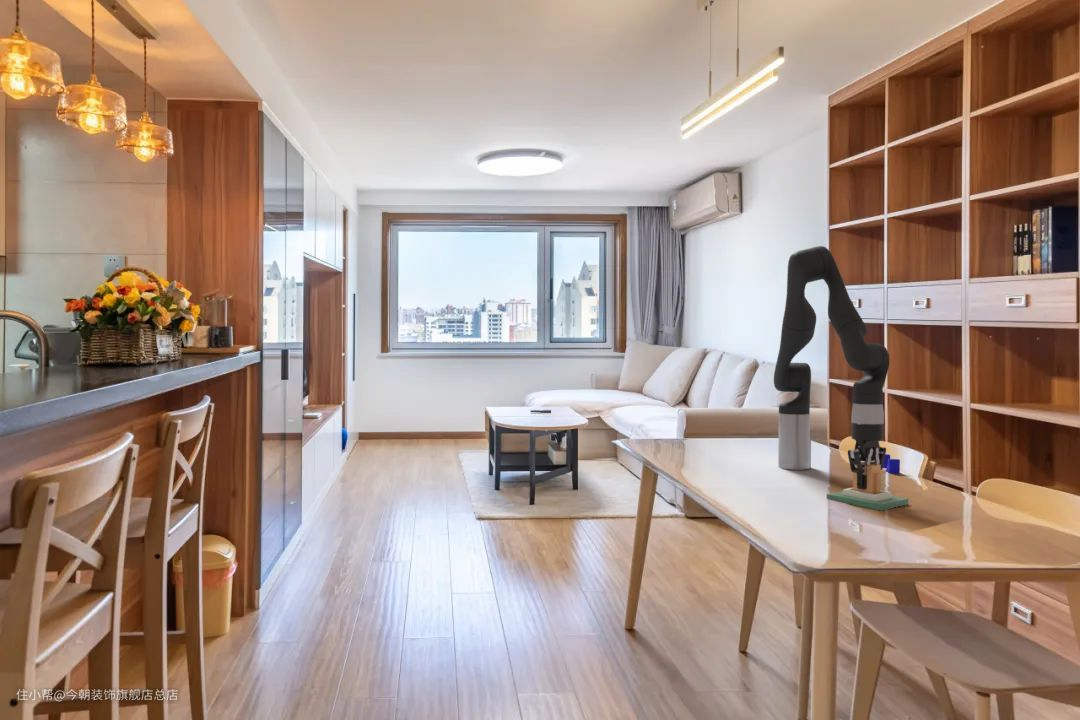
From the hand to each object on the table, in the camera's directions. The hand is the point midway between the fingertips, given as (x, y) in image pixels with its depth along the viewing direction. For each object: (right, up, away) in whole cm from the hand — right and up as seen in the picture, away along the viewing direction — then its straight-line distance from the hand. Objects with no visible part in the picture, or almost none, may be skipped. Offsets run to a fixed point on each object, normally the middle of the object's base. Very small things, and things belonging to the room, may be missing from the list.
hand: (866, 487), depth 183 cm
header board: (0, -4, 0) cm, 4 cm away
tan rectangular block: (0, -1, 0) cm, 1 cm away
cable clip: (+25, -4, +41) cm, 48 cm away
